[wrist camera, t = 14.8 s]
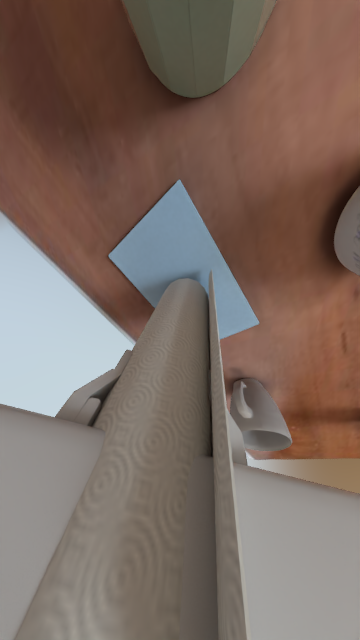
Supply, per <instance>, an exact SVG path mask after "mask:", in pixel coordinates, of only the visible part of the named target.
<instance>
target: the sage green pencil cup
mask: <svg viewBox="0 0 360 640" xmlns="http://www.w3.org/2000/svg"><path fill="white" fill-rule="evenodd" d="M276 1H277V0H121V3H122V5H123V8H124V10H125V13H126V15H127V18H128V20H129V23H130V25H131V28H132V30H133V33H134V35H135V37H136V39H137V42H138V44H139V46H140V48H141V51H142V53H143V55H144V57H145V60H146V62H147V64H148V66H149V68H150V70H151V71H152V72H153V73H154V74H155V76H156V77H157V78H158V79H159V80H160V82H161V83H162V84H163V85H165V86H166V87H167V88H168V89H169V90H171V91H172V92H174V93H176V94H178V95H181V96H184V97H190V98H195V97H202V96H205V95H208V94H211V93H212V92H214V91H216V90H218V89H219V88H221V87H222V86H223V85H225V84H226V83H227V82H228V81H229V80H230V79H231V78H232V77H233V76H234V75H235V74H236V73H237V72H238V70H239V69H240V68H241V67H242V65H243V64H244V63H245V61H246V60H247V59H248V58H249V56H250V54H251V52H252V50H253V49H254V47H255V45H256V43H257V41H258V40H259V38H260V36H261V34H262V32H263V29H264V27H265V25H266V23H267V21H268V18H269V16H270V14H271V12H272V10H273V8H274V6H275V4H276Z"/></svg>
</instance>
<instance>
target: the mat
mask: <svg viewBox="0 0 360 640" xmlns="http://www.w3.org/2000/svg"><path fill="white" fill-rule="evenodd" d="M108 257H109V258H110V259H111V260H112V261H113V262H114V263H115V265H116V266H117V267H118V268H119V269H120V270H121V271H122V272H123V273H124V275H125V276H126V277H127V278H128V279H129V280H130V281H131V282H132V283H133V285H134V286H135V287H136V288H137V289H138V290H139V291H140V292H141V293H142V295H143V296H144V297H145V298H146V299H147V300H148V301H149V302H150V304H151V305H152V306H153V307H154V308H156V306H157V304H158V303H159V301H160V299H161V297H162V295H163V294H164V292H165V290H166V289H167V287H168V286H169V285H170V284H171V283H172V282H174V281H176V280H178V279H185V278H189V279H192V280H195V281H197V282H199V283H200V284H201V285H202V286H203V287H204V288H205V290H206V292H207V294H208V298H209V288H208V281H209V274H210V271H211V269H212V273H213V282H214V292H215V301H216V310H217V320H218V329H219V339H223V338H225V337H228V336H230V335H233V334H235V333H238V332H240V331H243V330H245V329H248V328H250V327H253V326H255V325H258V324H260V323H259V321H258V319H257V317H256V316H255V314H254V312H253V310H252V308H251V307H250V305H249V303H248V301H247V299H246V298H245V296H244V294H243V292H242V290H241V289H240V287H239V285H238V283H237V281H236V280H235V278H234V276H233V274H232V272H231V271H230V269H229V267H228V265H227V263H226V262H225V260H224V258H223V256H222V254H221V253H220V251H219V249H218V247H217V245H216V244H215V242H214V240H213V238H212V236H211V235H210V233H209V231H208V229H207V227H206V226H205V224H204V222H203V220H202V218H201V217H200V215H199V213H198V211H197V209H196V208H195V206H194V204H193V202H192V200H191V199H190V197H189V195H188V193H187V191H186V190H185V188H184V186H183V184H182V182H181V181H180V179H179V180H178V181H177V182H176V183H175V184H174V185H173V186H172V187H171V188H170V190H169V191H168V192H167V193H166V194H165V195H164V196H163V197H162V198H161V199H160V200H159V201H158V202H157V204H156V205H155V206H154V207H153V208H152V209H151V210H150V211H149V212H148V213H147V214H146V215H145V216H144V217H143V219H142V220H141V221H140V222H139V223H138V224H137V225H136V226H135V227H134V228H133V229H132V230H131V231H130V233H129V234H128V235H127V236H126V237H125V238H124V239H123V240H122V241H121V242H120V243H119V244H118V245H117V246H116V248H115V249H114V250H113V251H112V252H111V253H110V254H109V255H108Z"/></svg>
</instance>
